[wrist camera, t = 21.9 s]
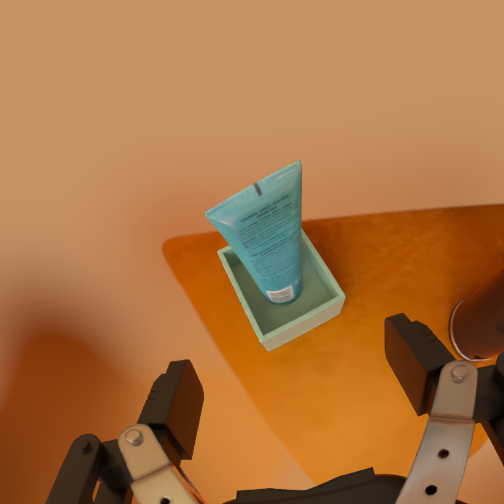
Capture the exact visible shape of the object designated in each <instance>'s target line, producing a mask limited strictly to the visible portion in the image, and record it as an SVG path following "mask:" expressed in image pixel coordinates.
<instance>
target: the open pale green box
mask: <svg viewBox="0 0 504 504" xmlns="http://www.w3.org/2000/svg"><path fill="white" fill-rule="evenodd" d="M301 251H302V290H301V293H300V295H299V297H298V298H297V299H296V300H295V301H294V302H292V303H291V304H288V305H283V306H280V305H274V304H272V303H271V302H269V301H268V300H267V299H266V298H265V296H264V295H263V293H262V292H261V290H260V289H259V287H258V286H257V284H256V282H255V281H254V279H253V278H252V276H251V275H250V273H249V272H248V270H247V269H246V267H245V266H244V264H243V263H242V261H241V260H240V258H239V257H238V256H237V254H236V253H235V251H234V250H233V249H232V247H231V246H230V245H228V246H226V247H224V248H222V250H221V249H220V250H218V251H217V253H218V255H219V257H220V259H221V261H222V264H223V266H224V268H225V270H226V272H227V274H228V276H229V279H230V281H231V283H232V285H233V287H234V289H235V291H236V293H237V295H238V298H239V300H240V302H241V304H242V306H243V308H244V310H245V312H246V314H247V316H248V318H249V320H250V322H251V325H252V327H253V329H254V331H255V333H256V335H257V337H258V339H259V341H260V343H261V344H262V345H263V346H264V347H265V348H266V349H267V350H268V351H271V350H273V349H275V348H277V347H279V346H281V345H283V344H285V343H287V342H289V341H291V340H293V339H295V338H297V337H299V336H300V335H302V334H304V333H306V332H308V331H310V330H312V329H314V328H315V327H317V326H319V325H321V324H323V323H324V322H326V321H328V320H330V319H332V318H333V317H335V316H337V315H339V314H340V311H341V309H342V306H343V304H344V301H345V299H346V296H345V294H344V292H343V291H342V289H341V288H340V286H339V284H338V283H337V281H336V280H335V278H334V276H333V275H332V273H331V272H330V270H329V269H328V267H327V266H326V264H325V262H324V261H323V259H322V258H321V256H320V255H319V253H318V252H317V250H316V249H315V247H314V246H313V244H312V243H311V241H310V240H309V238H308V237H307V235H306V234H305V232H304V231H303V229H302V228H301Z"/></svg>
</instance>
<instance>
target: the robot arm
mask: <svg viewBox="0 0 504 504" xmlns="http://www.w3.org/2000/svg"><path fill="white" fill-rule="evenodd" d="M449 337H450V341H451V344H452V347H453V349H454V350H455V352H456V353H457V354H458V355H459V356H460V357H461V358H462V359H464V360H466V361H464V360H456V359H455V358H454V356H453V355H452V354H451V353H450V352H449V351H448V349H447V348H446V347H445V346H444V345H443V344H442V342H441V341H440V340H438V338H437V337H436V336H435V334H433V332H432V331H431V330H430V329H429V328H428V327H427V325H424V324H422V323H420V322H418V321H414V322H411V321H410V320H409V319H408V318H407V316H406V315H405V314H404V313H400V314H397V315H394V316H390V317H387V318H385V354H386V358H387V361H388V363H389V365H390V366H391V368H392V370H393V372H394V373H395V375H396V377H397V379H398V380H399V382H400V384H401V386H402V388H403V389H404V391H405V393H406V395H407V397H408V398H409V400H410V402H411V404H412V406H413V408H414V410H415V411H416V413H417V415H418V416H421V415H423V414H425V413H428V415H429V419H428V422H427V425H426V429H425V432H424V435H423V438H422V440H421V443H420V446H419V449H418V452H417V454H416V457H415V459H414V462H413V464H412V467H411V469H410V472H409V474H408V477H407V478H406V477H403V476H399V475H392V474H374V470H373V467H371V468H368V469H364V470H361V471H357V472H354V473H350V474H346V475H342V476H339V477H336V478H334V479H332V480H330V481H328V482H325V483H323V484H320V485H318V486H316V487H313V488H311V489H308V490H284V489H273V488H267V489H256V490H242V491H237V496H236V499H234V500H231V501H228V502H225V503H223V504H467V503H465V502H462V501H460V500H457V496H458V492H459V489H460V486H461V483H462V480H463V476H464V473H465V469H466V465H467V461H468V457H469V453H470V448H471V444H472V439H473V433H474V428H475V424H476V423H481V424H482V426H483V428H484V429H485V431H486V433H487V435H488V437H489V438H490V440H491V442H492V444H493V446H494V448H495V450H496V452H497V454H498V456H499V458H500V460H501V462H502V464H503V466H504V268H503V269H502V270H501V271H500V272H499V273H498V274H496V275H495V276H494V277H493V278H492V279H490V280H489V281H488V282H487V283H485V284H484V285H483V286H482V287H480V288H479V289H478V290H476V291H475V292H474V293H472V294H471V295H470V296H468V297H466V298H465V299H463V300H462V301H461V302H459V303H458V304H457V305H456V307H455V308H454V310H453V312H452V314H451V317H450V321H449ZM497 355H499V356H498V358H497V361H496V364H495V365H490V366H486V367H481V368H476V367H475V366H474V365H473V364H472V363H470V362H479V361H483V360H490V359H487V358H490V357H494V356H497ZM150 391H151V393H149V395H148V400H146V403H145V405H144V407H143V410H142V412H141V414H140V417H139V419H138V422H137V424H135V425H131V426H129V427H127V428H126V429H124V430H123V431H122V432H121V434H120V435H119V438H118V439H115V440H110V441H106V442H101V441H100V440H99V439H98V438H97V436H95V435H93V434H84V435H82V436H80V437H78V438H77V439H76V440H75V441H74V442H73V443H72V445H71V447H70V449H69V451H68V453H67V455H66V458H65V460H64V462H63V464H62V466H61V469H60V471H59V473H58V475H57V478H56V480H55V483H54V485H53V487H52V489H51V492H50V494H49V497H48V499H47V501H46V504H131V502H132V498H133V494H134V495H135V497H136V499H137V501H138V503H139V504H208V503H207V502H206V501H205V499H204V498H203V497H202V496H201V494H200V493H199V492H198V491H197V489H196V488H195V486H194V485H193V484H192V482H191V481H190V480H189V478H188V477H187V476H186V474H185V473H184V471H183V470H182V468H181V467H180V463H181V460H191V459H192V455H193V450H194V445H195V440H196V435H197V430H198V425H199V420H200V416H201V411H202V406H203V401H204V392H203V388H202V385H201V383H200V381H199V379H198V376H197V374H196V372H195V370H194V368H193V365H192V363H191V361H190V360H188V359H187V360H180V361H171V362H170V364H169V366H168V369H167V372H166V374H161V375H160V376H159V377H158V378H157V380H156V381H155V382H154V383H153V386H152V388H151V390H150ZM97 480H98V481H99V482H100V486H99V489H98V491H97V495H96V498H95V501H94V502H93V499H92V496H93V492H94V489H95V486H96V483H97Z"/></svg>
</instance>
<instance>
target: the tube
mask: <svg viewBox="0 0 504 504" xmlns="http://www.w3.org/2000/svg"><path fill="white" fill-rule="evenodd" d="M301 196H302V165H301V161H300V160H298V161H295V162H294V163H292V164H290V165H288V166H286V167H284V168H282V169H280V170H278V171H276V172H274V173H272V174H270V175H268V176H267V177H265V178H263V179H261V180H259V181H258V182H256V183H254V184H252V185H250V186H248V187H247V188H245V189H243V190H241V191H239V192H237V193H236V194H234V195H232V196H231V197H229V198H227V199H226V200H224V201H223V202H222V203H220V204H218V205H216V206H214V207H213V208H211V209H210V210H208V211H206V212H205V215H206V216H207V218H208V219H209V221H210V222H211V223H212V224H213V225H214V226H215V227H216V228H217V230H218V231H219V232H220V233H221V234H222V236H223V237H224V238H225V240H226V241H227V242H228V243H229V245H230V246H231V247H232V249H233V250H234V251H235V253H236V254H237V256H238V257H239V258H240V260H241V261H242V263H243V264H244V266H245V267H246V269H247V270H248V272H249V273H250V275H251V276H252V278H253V279H254V281H255V282H256V284H257V286H258V287H259V289H260V290H261V292H262V293H263V295H264V296H265V298H266V299H267V300H268V301H269V302H271V303H272V304H274V305H280V306H283V305H288V304H291V303H292V302H294V301H295V300H296V299H297V298H298V297H299V295H300V293H301V290H302V251H301V198H302V197H301Z"/></svg>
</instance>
